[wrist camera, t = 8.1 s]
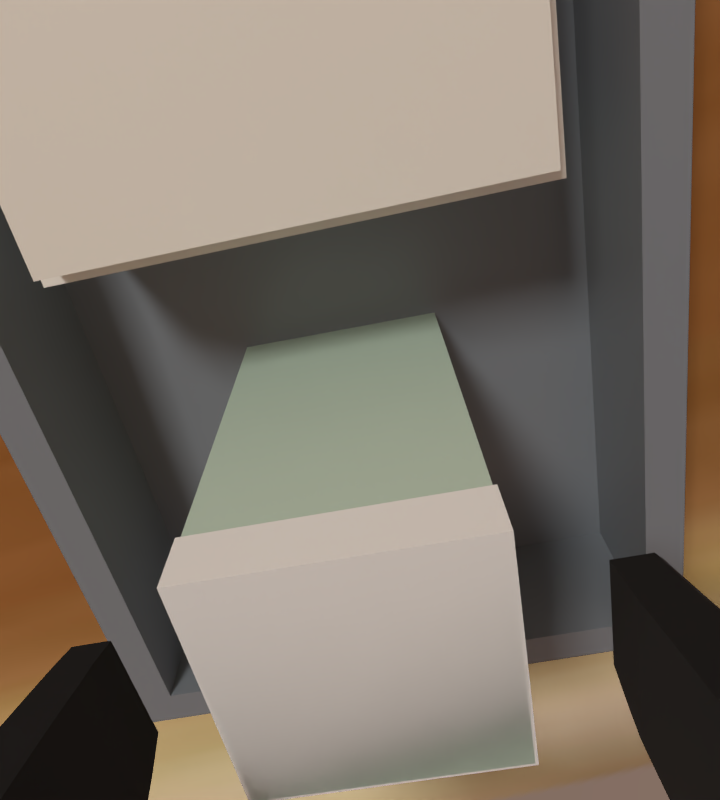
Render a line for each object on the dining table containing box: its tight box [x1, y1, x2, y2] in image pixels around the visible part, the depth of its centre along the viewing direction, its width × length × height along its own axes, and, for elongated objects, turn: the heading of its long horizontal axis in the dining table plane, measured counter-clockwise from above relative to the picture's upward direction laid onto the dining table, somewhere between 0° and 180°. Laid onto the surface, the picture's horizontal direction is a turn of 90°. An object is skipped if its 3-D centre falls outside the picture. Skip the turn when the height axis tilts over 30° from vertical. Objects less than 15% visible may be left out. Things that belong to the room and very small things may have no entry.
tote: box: [0, 0, 695, 722], centre depth 13 cm, size 13×21×4 cm, turn 12°
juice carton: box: [157, 313, 539, 800], centre depth 13 cm, size 4×4×8 cm
